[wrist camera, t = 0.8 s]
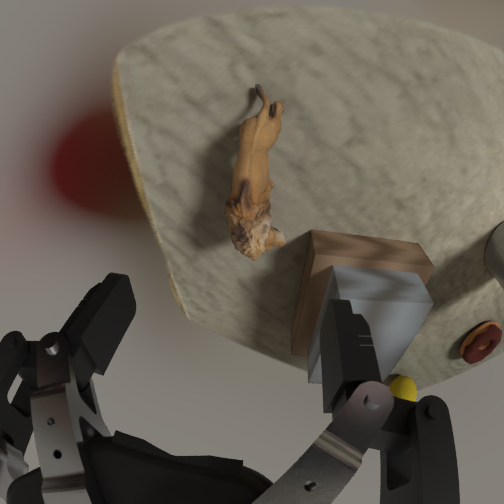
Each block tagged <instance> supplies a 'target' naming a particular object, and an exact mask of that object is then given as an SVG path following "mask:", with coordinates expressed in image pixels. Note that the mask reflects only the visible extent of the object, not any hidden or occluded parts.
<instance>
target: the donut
mask: <svg viewBox="0 0 504 504" xmlns="http://www.w3.org/2000/svg"><path fill="white" fill-rule="evenodd" d="M501 335H502V330H501V329H500V326H499V324H498V323H497V322H496V321H489V322H486V323H483V324H482V325H480V326H479V327H477V328H476V329H474V330H473V331H472V332H471V333H470V334H469V335H468V336H467V337H466V338H465V340H464V342H463V343H462V345H461V348H460V354H461V355H462V358H463V359H464V360H465V362H467V363H469V364H474V363H476V362H478V361H481V360H482V359H484V358H485V357H486V356H487V355H489V354H490V353H491V352H492V351H493V350H494V348H496V346H497V344H498V343H499V342H500V340H501Z"/></svg>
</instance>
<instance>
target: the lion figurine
mask: <svg viewBox="0 0 504 504" xmlns="http://www.w3.org/2000/svg"><path fill="white" fill-rule="evenodd" d="M255 88H256V93H257V95H258V96H259V97H260V98H261V99H262V101H263V106H262V109H261V111H260V113H259V115H258V117H256V116H253V117H251V118H249V119H246V120H245V121H244V122H243V123H242V124H241V127H240V128H239V146H240V147H239V154H238V157H237V160H236V164H235V168H234V171H233V178H232V191H231V193H230V198H229V199H228V200H227V202H226V204H225V206H226V207H225V215H226V216H227V224H228V232H229V233H230V236H231V238H232V242H233V244H234V245H235V249H236V250H239V251H240V253H241V254H243V255H245V256H247V257H249V258H251V259H252V260H253V261H256V258H258V257H259V255H260V254H262V253H263V252H264V251H268V250H269V249H270V248H271V247H281V246H283V245H284V244H285V242H286V240H285V238H284V235H283V233H282V232H281V231H278V230H277V229H275V228H273V227H271V222H272V217H271V215H270V209H271V208H270V202H269V198H270V192H271V189H272V188H273V187H274V184H273V182H272V181H271V180H270V179H269V178H268V177H269V157H268V151H269V150H270V148H271V147H272V145H273V144H274V143H275V142H276V140H277V138H278V135H279V133H280V130H281V113H282V112H283V111H284V108H283V104H282V103H281V102H278V101H275V102H274V103H273V105H272V112H273V116H272V118H270V119H269V118H268V116H269V108H270V102H269V99H268V98H267V97H266V96H265V95H264V93H263V89H262V88H261V86H260V85H259V84H256V85H255Z"/></svg>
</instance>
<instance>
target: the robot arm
mask: <svg viewBox="0 0 504 504" xmlns="http://www.w3.org/2000/svg"><path fill="white" fill-rule="evenodd" d="M485 264H486V266H487V268H488V269H489V270H490V272H491V273H492V274H493V276H494V277H495V278H496V280H497V281H498V282H499V284H500V285H501V287H502V288H503V289H504V222H503V223H501V224H500V225H499V226H498V227H497V229H496V230H495V231H494V233H493V234H492V236H491V237H490V240H489V242H488V244H487V247H486V251H485ZM135 312H136V301H135V298H134V294H133V291H132V287H131V283H130V280H129V277H128V276H127V275H124V274H118V273H109V274H108V275H107V276H106V278H105V279H104V280H103V282H102V283H98V284H97V285H95V286H94V287H93V288H91V289H90V290H89V291H88V293H87V294H86V295H85V297H84V298H83V300H82V301H81V302H80V304H79V305H78V307H77V308H76V309H75V310H74V312H73V313H72V314H71V316H70V317H69V318H68V320H67V321H66V323H65V324H64V326H63V327H62V329H61V330H60V331H59V332H51V333H48V334H46V335H45V336H43V338H41V340H40V341H26V339H25V338H24V336H23V335H22V333H21V332H19V331H12V332H10V333H8V334H6V335H5V336H4V337H3V339H2V340H1V342H0V497H1V498H3V499H4V500H5V501H6V503H7V504H331V503H332V502H333V501H334V499H335V498H336V497H337V496H338V495H339V493H340V492H341V491H342V490H343V489H344V487H345V486H346V485H347V483H348V482H349V481H350V480H351V478H352V477H353V476H354V474H355V473H356V471H357V470H358V468H359V467H360V465H361V463H362V461H361V459H362V457H363V456H364V454H365V453H366V451H367V450H368V448H372V449H377V450H380V458H381V490H380V504H460V495H459V478H458V467H457V458H456V450H455V443H454V436H453V432H452V431H453V430H452V425H451V420H450V414H449V410H448V407H447V405H446V403H445V402H444V401H443V400H442V399H441V398H439V397H437V396H433V395H429V396H425V397H423V398H422V399H421V400H419V402H414V401H410V400H406V399H401V398H398V397H396V396H394V395H393V394H392V392H391V391H390V389H389V388H388V387H387V386H385V385H384V384H383V383H382V380H381V375H380V370H379V366H378V361H377V357H376V352H375V348H374V347H373V345H374V344H373V340H372V337H371V331H370V327H369V324H368V323H367V321H366V320H365V319H364V317H363V316H362V315H361V314H353V310H352V306H351V302H350V300H346V299H332V298H331V299H330V300H329V302H328V305H327V308H326V312H325V315H324V318H323V321H322V325H321V329H320V354H321V369H322V387H323V409H324V413H332V417H333V420H332V422H331V423H330V424H329V425H328V427H327V428H326V429H325V430H324V431H323V433H322V434H321V435H320V436H319V437H318V438H317V439H316V440H315V441H314V443H313V444H312V445H311V446H310V447H309V448H308V449H307V450H306V452H305V453H304V454H303V455H302V456H301V457H300V458H299V459H298V460H297V461H296V462H295V463H294V464H293V466H291V467H290V468H289V469H288V470H287V472H285V473H284V474H283V475H282V476H281V477H280V478H279V479H278V480H277V481H276V482H275V483H274V484H273V483H272V482H271V481H270V480H269V479H268V478H266V477H265V476H264V475H262V474H260V473H259V472H257V471H254V470H252V469H250V468H248V467H245V466H243V460H236V459H228V458H221V457H215V456H209V455H208V456H173V455H171V454H169V453H167V452H165V451H163V450H161V449H159V448H157V447H155V446H154V445H152V444H150V443H149V442H147V441H145V440H143V439H140V438H137V437H134V436H131V435H128V434H125V433H122V432H119V431H117V430H116V431H115V434H114V436H111V434H110V432H109V430H108V428H107V426H106V425H105V423H104V421H103V419H102V416H101V412H100V409H99V405H98V401H97V397H96V393H95V388H94V384H93V380H92V378H91V377H92V375H93V373H97V374H100V375H104V373H105V371H106V369H107V367H108V365H109V363H110V361H111V359H112V357H113V355H114V353H115V351H116V349H117V348H118V345H119V344H120V342H121V340H122V338H123V336H124V334H125V332H126V330H127V329H128V327H129V325H130V323H131V321H132V320H133V318H134V315H135ZM17 374H18V375H19V376H20V377H21V378H22V382H21V384H20V386H19V388H18V390H17V392H16V394H15V396H14V398H13V401H12V403H11V404H10V403H9V402H8V399H7V394H8V391H9V389H10V387H11V385H12V383H13V381H14V379H15V377H16V376H17ZM33 430H34V437H35V443H36V448H37V453H38V459H39V463H40V467H38V468H37V469H35V470H32V471H30V472H28V471H29V466H28V464H27V463H26V462H25V461H24V454H25V451H26V448H27V446H28V443H29V440H30V437H31V435H32V432H33ZM27 472H28V473H27ZM24 473H26V474H24Z"/></svg>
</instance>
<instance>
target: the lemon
mask: <svg viewBox="0 0 504 504" xmlns="http://www.w3.org/2000/svg"><path fill="white" fill-rule="evenodd" d="M389 389H390V391H391V392H392V394H393V395H394V396H396V397H398V398H401V399H406V400H410V401H414V402H415V400H416V396H417V390H416V386H415V383H414V381H413V380H412V379H411V378H410V377H407V376H401V375H399V376H397V378H396V379H395V380H393V382H392V383H391V385H390V388H389Z"/></svg>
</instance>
